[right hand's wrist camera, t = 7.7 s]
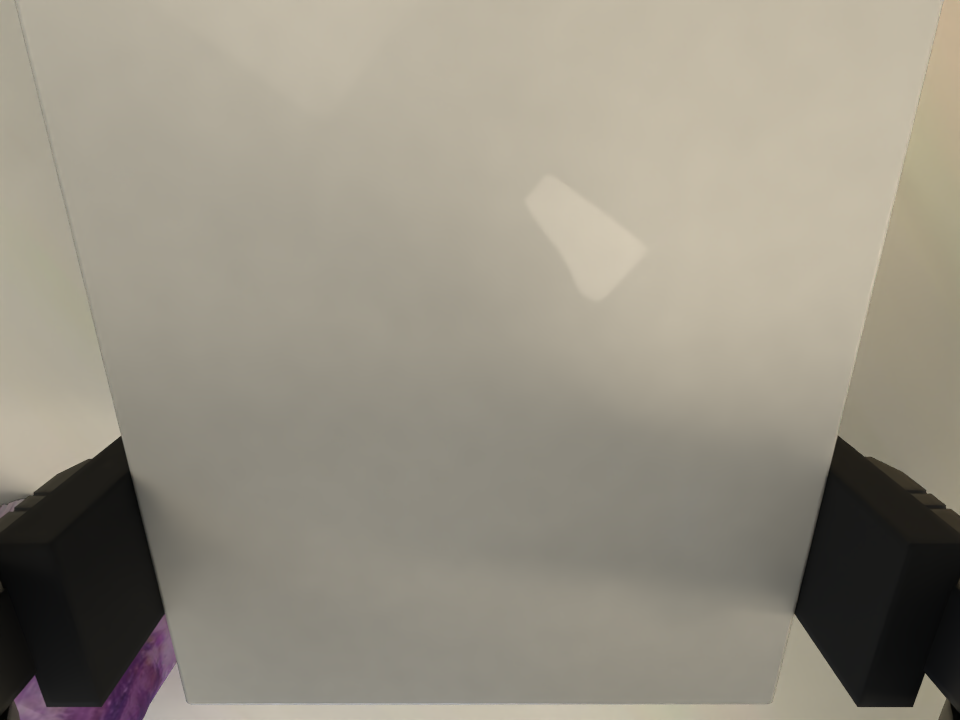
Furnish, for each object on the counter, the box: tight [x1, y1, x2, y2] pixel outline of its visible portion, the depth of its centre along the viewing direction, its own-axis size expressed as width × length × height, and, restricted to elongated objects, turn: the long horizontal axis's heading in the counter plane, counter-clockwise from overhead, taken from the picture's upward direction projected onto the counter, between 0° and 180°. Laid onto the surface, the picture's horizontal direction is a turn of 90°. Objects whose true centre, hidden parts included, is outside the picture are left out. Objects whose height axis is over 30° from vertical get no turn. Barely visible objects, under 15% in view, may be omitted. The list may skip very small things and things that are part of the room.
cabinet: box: [15, 0, 944, 705], centre depth 11 cm, size 21×10×10 cm, turn 0°
